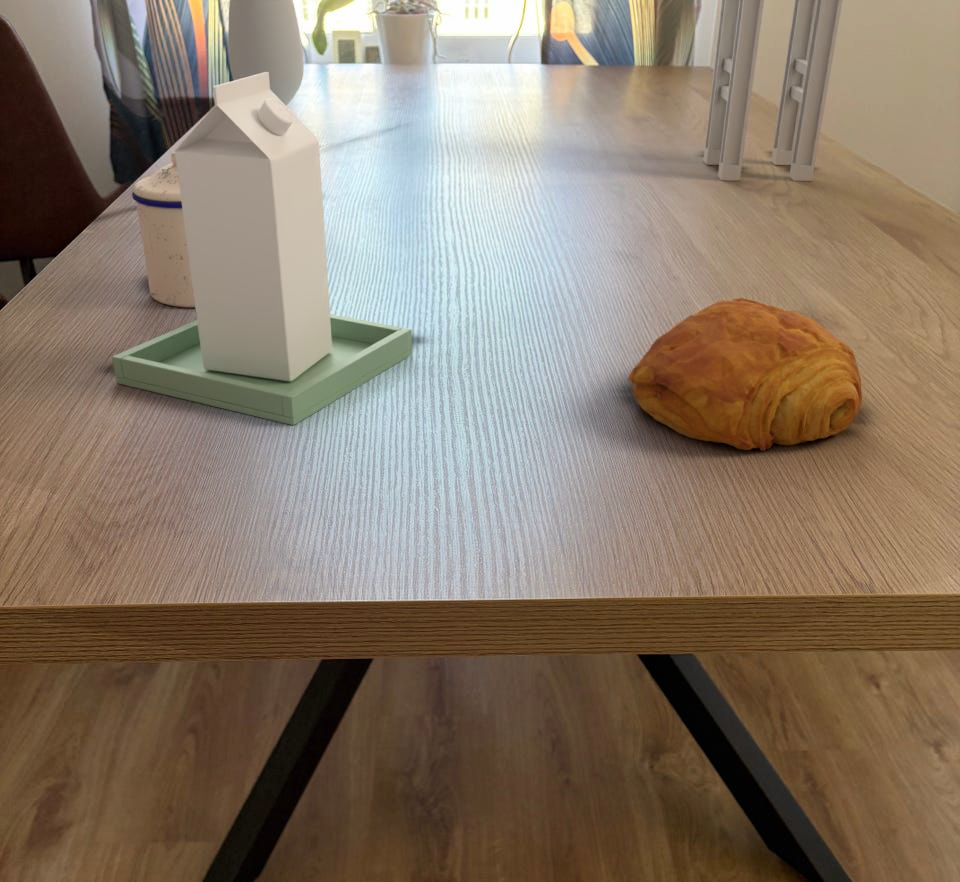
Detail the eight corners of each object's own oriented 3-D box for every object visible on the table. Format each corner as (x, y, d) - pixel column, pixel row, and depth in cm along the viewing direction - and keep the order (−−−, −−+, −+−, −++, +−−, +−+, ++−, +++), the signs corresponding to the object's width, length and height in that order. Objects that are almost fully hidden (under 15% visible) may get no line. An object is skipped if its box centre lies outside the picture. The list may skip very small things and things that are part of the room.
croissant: (743, 388, 87) (751, 281, 83) (897, 434, 75) (914, 311, 71) (586, 416, 81) (588, 302, 78) (725, 471, 69) (734, 339, 65)
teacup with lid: (253, 307, 95) (238, 161, 89) (143, 312, 94) (120, 164, 88) (253, 267, 105) (240, 133, 99) (154, 271, 104) (134, 135, 97)
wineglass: (283, 218, 120) (264, -7, 109) (230, 208, 124) (206, -11, 112) (327, 204, 126) (313, -12, 114) (275, 195, 129) (256, -15, 117)
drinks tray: (116, 383, 81) (111, 356, 80) (249, 321, 92) (246, 297, 91) (293, 425, 75) (291, 397, 74) (412, 354, 86) (411, 329, 85)
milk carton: (202, 371, 81) (164, 83, 71) (249, 340, 87) (221, 68, 76) (290, 384, 80) (265, 89, 69) (333, 352, 85) (315, 74, 75)
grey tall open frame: (708, 184, 136) (750, -170, 117) (684, 157, 149) (719, -166, 129) (833, 184, 137) (896, -168, 117) (799, 158, 150) (851, -164, 130)
